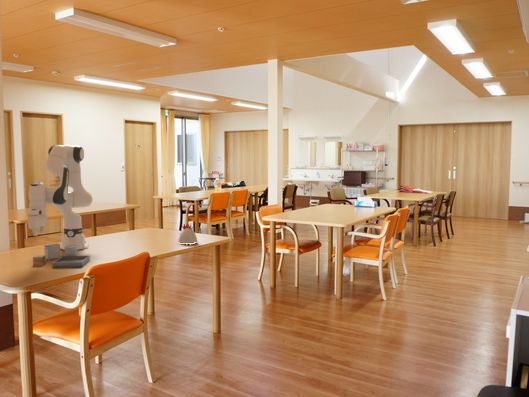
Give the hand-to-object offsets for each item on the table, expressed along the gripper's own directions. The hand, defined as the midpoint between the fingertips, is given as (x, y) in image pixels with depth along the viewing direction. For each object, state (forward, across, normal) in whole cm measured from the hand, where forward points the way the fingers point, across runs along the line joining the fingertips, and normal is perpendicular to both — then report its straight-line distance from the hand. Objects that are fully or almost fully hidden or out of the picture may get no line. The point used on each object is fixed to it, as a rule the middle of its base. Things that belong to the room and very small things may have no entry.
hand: (38, 234), depth 264 cm
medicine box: (+18, -17, +2) cm, 25 cm away
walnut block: (+18, 0, 0) cm, 18 cm away
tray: (+18, 0, +18) cm, 25 cm away
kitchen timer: (+18, -62, +83) cm, 105 cm away
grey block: (+18, -13, +14) cm, 26 cm away
